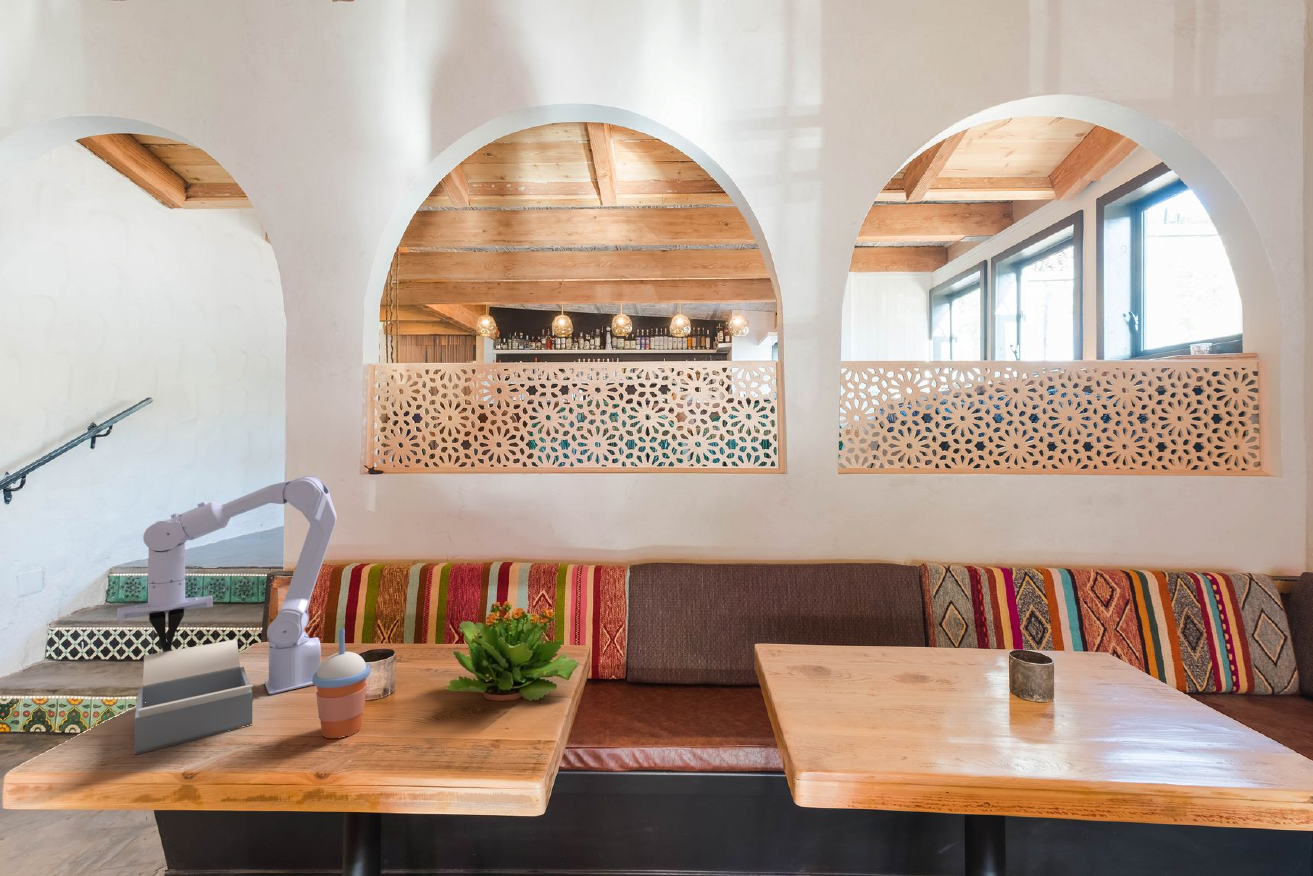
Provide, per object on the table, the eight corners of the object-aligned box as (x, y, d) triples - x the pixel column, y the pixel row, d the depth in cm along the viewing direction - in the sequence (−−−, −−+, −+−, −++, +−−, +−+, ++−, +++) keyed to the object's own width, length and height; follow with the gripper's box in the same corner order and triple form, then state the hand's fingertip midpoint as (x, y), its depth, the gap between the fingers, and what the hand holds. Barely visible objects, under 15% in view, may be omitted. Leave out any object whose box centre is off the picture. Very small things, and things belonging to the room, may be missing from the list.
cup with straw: (310, 749, 99) (310, 640, 99) (313, 726, 107) (313, 626, 107) (371, 736, 103) (371, 632, 103) (369, 715, 111) (369, 619, 111)
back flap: (240, 666, 119) (239, 667, 119) (236, 639, 125) (236, 640, 125) (142, 685, 110) (142, 687, 110) (144, 655, 115) (144, 656, 115)
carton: (243, 696, 120) (243, 666, 120) (252, 725, 107) (252, 691, 107) (138, 720, 109) (138, 687, 110) (134, 755, 97) (134, 718, 97)
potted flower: (468, 733, 104) (468, 633, 104) (419, 691, 122) (419, 606, 122) (586, 693, 120) (585, 606, 121) (528, 661, 138) (528, 586, 138)
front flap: (252, 684, 102) (252, 685, 101) (248, 691, 107) (248, 693, 107) (138, 709, 92) (138, 711, 92) (139, 716, 98) (139, 718, 97)
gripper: (116, 590, 110) (115, 663, 110) (213, 578, 119) (213, 646, 119) (118, 583, 115) (118, 653, 115) (211, 572, 125) (211, 637, 124)
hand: (166, 649), depth 118 cm, fingers closed
